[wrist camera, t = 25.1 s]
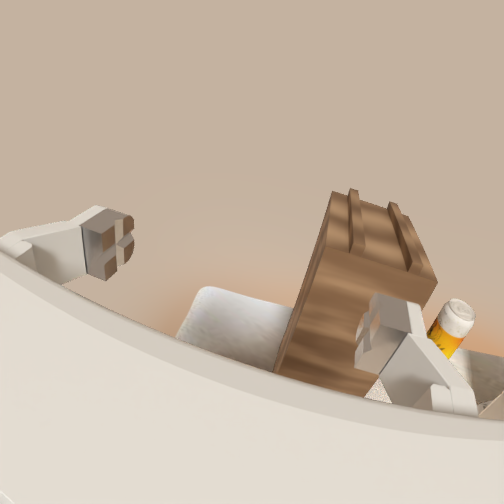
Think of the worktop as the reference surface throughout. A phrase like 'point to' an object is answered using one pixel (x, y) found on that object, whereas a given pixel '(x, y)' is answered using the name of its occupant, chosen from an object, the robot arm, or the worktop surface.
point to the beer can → (451, 326)
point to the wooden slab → (350, 290)
